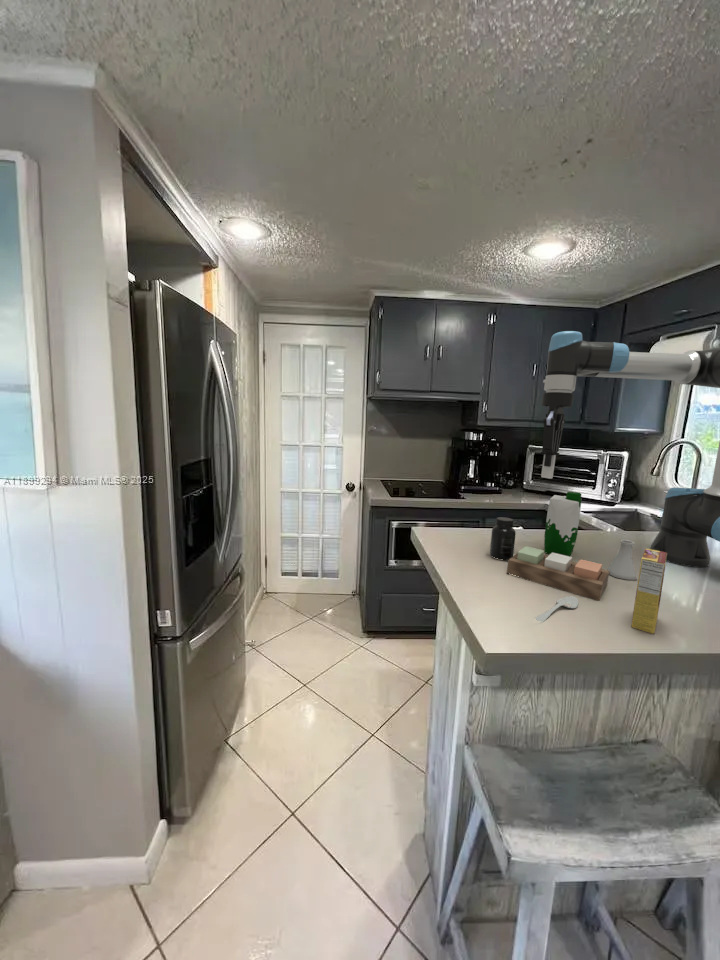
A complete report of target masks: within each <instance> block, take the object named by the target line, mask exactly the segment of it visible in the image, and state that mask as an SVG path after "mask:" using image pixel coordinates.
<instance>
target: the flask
mask: <svg viewBox="0 0 720 960" xmlns="http://www.w3.org/2000/svg"><path fill="white" fill-rule="evenodd" d="M619 540H620V548H619V549H618V552H617V554H616V556H615V557H614V559H613V560H612V561H611V563H610V564H609V566H608V568H606V570H608V571H609V576H612V577H614V578H617V579H622V580H627V581H628V580H629V581H633V580H637V581H638V578H637V572H636V570H635V565H634V561H633V551H632V550H633V546H634V545H635V542H634V541H632V540H628V539H619Z"/></svg>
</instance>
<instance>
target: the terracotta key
mask: <svg viewBox="0 0 720 960" xmlns="http://www.w3.org/2000/svg"><path fill="white" fill-rule="evenodd" d="M576 563H577V564H576V566H575V569H574V575H578V576H582V577H586V578H589V579H593V580H597V581H598V579H599V577H600V576H601V570H602V569H603V563H598V562H594V561H589V560H585V559H579V560H578V562H576Z"/></svg>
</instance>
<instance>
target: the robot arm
mask: <svg viewBox="0 0 720 960" xmlns="http://www.w3.org/2000/svg"><path fill="white" fill-rule="evenodd" d="M583 339H584V338H583V333H582V332H580V331H575V330H565V331H559V332H556V333H554V334H553V335H552V336H551V338H550V342H549V347H548V353H547V354H548V355H547V363H546V373H545V379H543V381H542V383H543V384H544V387H543V391H545V392H544V393H543V394H542V402H541V406H542V407H544V408H546V407H547V408H548V410H547V413H546V414H545V417H543V433H542V434H543V435H542V449H541V451H540V454H541V455H543V460H542V467H541V473H540V474H541V475H540V477H541V478H545V479H549V480H550V479H553V477H554V471H555V464H556V456H559V455H560V452H559V450H560V445H561V440H562V434H563V429H564V426H565V423H566V419H565V416H566V415H565V414H564V409H565V408H566V409H567V408H572V406H573V402H574V397H575V395H574V393H573V392H574V391H575V390H576V382H577V378H578V377H586V378H587V377H588V378H589V377H593V378H594V377H596V378H597V377H598V378H616V379H617V378H618V379H619V378H620V379H634V380H635V379H639V380H655V381H656V380H659V381H675V382H676V383H677V384H679V385H686V386H688V385H689V386H699V387H707V388H714V389H720V347H717V348H712V349H711V348H710V349H704V350H687V351H685V352H684V353H669V352H642V351H641V352H640V351H639V352H638V351H630V348H629V346H628V345H627V344H625V343H620V342H615V341H613V342H606V341H605V342H604V341H603V342H602V341H586V340H583ZM717 448H718V449H717V453H716V458H715V465H714V470H713V475H712V481H711V485H710V486H709V487H707V488H706V489H705V488H695V487H694V488H692V487H675V486H674V487H670V488H669V489H668V490H667V491H666V495H665V497H664V505H663V511H662V517H661V522H660V528H659V531H658V533H657V535H656V536H655V537H654V539H653V541H652V542H651V543H650V546H649V549H651V550H657V551H662V552H666V553H667V557H666V562H667V563H668V562H669V563H671V564H672V563H673V564H675V565H681V566H687V567H693V566H698V567H697V568H704V567H703V566H706V567H709V566H710V562H711V555H710V550H709V545H708V541H707V538H711V539H713V540H714V541H717V542H720V441H719V443H718V447H717ZM708 565H709V566H708Z"/></svg>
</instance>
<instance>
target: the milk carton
mask: <svg viewBox="0 0 720 960" xmlns="http://www.w3.org/2000/svg"><path fill="white" fill-rule="evenodd" d="M581 507H582V493H581V492H577V491H567V492H566V495H557V494H554V495H553V496H552V497H550V498H549V502H548V507H547V514H546V519H545V520H546V521H545V529H544V530H545V531H544V536H543V537H544V538H543V539H544V540H543V541H544V542H543V543H544V548H543V549H544V554H548V555H550V554H551V553H552V552H553V553H557V554H561V555H565V556H569V557H571V555H572V554H573V552H574V548H575V544H576V542H577V539H578V532H579V531H578V529H579V524H580V517H581V510H582V509H581Z"/></svg>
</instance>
